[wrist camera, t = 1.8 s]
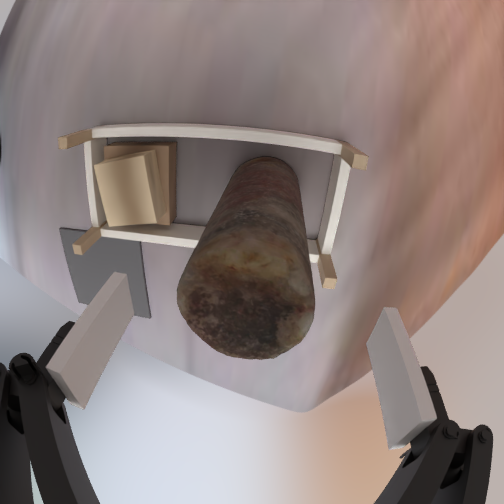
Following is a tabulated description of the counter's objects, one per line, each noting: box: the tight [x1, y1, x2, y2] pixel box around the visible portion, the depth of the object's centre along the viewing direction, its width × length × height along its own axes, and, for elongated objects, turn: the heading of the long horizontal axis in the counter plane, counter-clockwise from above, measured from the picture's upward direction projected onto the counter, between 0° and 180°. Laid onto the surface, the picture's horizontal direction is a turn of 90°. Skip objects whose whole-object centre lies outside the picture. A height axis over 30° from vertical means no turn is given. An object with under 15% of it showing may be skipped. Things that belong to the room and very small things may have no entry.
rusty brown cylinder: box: [177, 157, 315, 360], centre depth 22 cm, size 8×7×20 cm
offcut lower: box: [104, 142, 177, 226], centre depth 30 cm, size 8×9×3 cm
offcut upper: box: [94, 150, 166, 227], centre depth 28 cm, size 6×7×3 cm
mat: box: [59, 228, 151, 318], centre depth 39 cm, size 14×14×1 cm
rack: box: [58, 123, 369, 289], centre depth 28 cm, size 28×13×8 cm, turn 85°
